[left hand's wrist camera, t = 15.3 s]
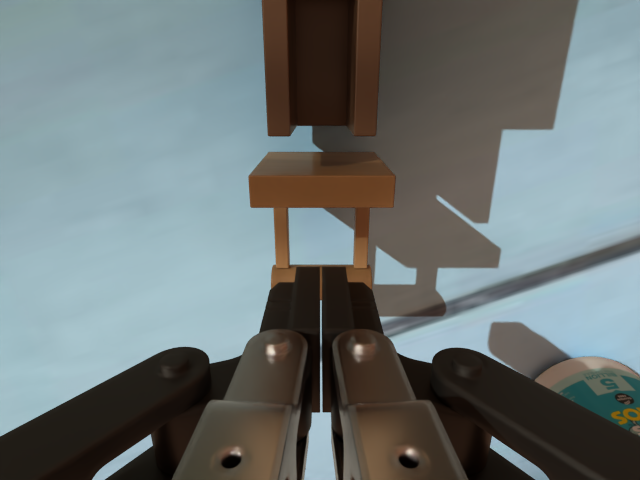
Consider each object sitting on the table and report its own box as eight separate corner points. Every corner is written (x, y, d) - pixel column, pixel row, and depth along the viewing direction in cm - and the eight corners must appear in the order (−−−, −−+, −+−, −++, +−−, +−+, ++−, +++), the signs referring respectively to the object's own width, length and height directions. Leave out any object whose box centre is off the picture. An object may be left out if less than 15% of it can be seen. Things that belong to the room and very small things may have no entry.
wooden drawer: (369, 272, 22) (385, 333, 17) (273, 272, 22) (257, 332, 16) (396, -319, 14) (446, -585, 9) (247, -319, 14) (199, -586, 9)
